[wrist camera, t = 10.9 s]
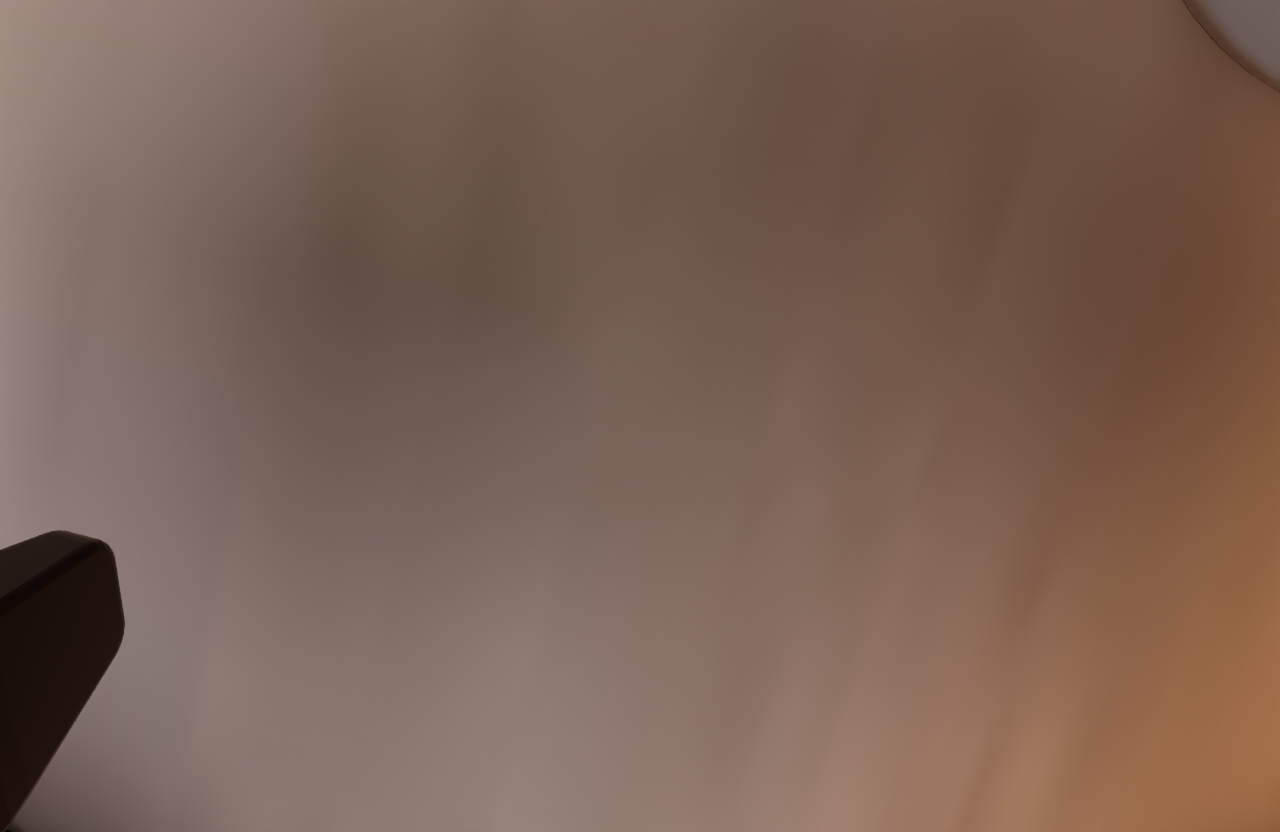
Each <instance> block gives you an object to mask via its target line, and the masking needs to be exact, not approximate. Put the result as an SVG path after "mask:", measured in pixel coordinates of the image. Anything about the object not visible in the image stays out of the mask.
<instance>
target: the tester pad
mask: <svg viewBox="0 0 1280 832" xmlns="http://www.w3.org/2000/svg"><path fill="white" fill-rule="evenodd" d="M1183 1H1184V2H1185V4H1186V5H1187V7H1188V9H1189V10H1190V12H1191V13H1192V15H1193V16H1194V18H1195V19H1196V20H1197V21H1198V22H1199V23H1200V25H1201V26H1202V27H1203V28H1204V29H1205V30H1206V32H1207V33H1208V34H1209V35H1210V36H1211V37H1212V39H1213V40H1214V41H1215V42H1216V43H1217V44H1218V46H1219V47H1220V48H1221V49H1222V50H1224V51H1225V52H1226V53H1227V54H1228V55H1229V56H1231V57H1232V58H1233V59H1234V60H1235V61H1236V62H1238V63H1239V64H1240V65H1241V66H1242V67H1243V68H1245V69H1246V70H1247V71H1248V72H1249V73H1250V74H1252V75H1253V76H1255V77H1256V78H1258V79H1260V80H1261V81H1263V82H1264V83H1266V84H1268V85H1269V86H1271V87H1273V88H1274V89H1276V90H1277V91H1279V92H1280V0H1183Z"/></svg>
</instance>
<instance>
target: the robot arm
mask: <svg viewBox="0 0 1280 832" xmlns="http://www.w3.org/2000/svg"><path fill="white" fill-rule="evenodd" d="M124 626H125V619H124V612H123V606H122V599H121V593H120V587H119V580H118V574H117V567H116V561H115V556H114V553H113V551H112V550H111V548H110V547H109V545H108V544H107V543H105V542H103V541H102V540H99V539H95V538H91V537H87V536H84V535H80V534H76V533H72V532H68V531H60V530H57V531H51V532H48V533H44V534H42V535H39V536H36V537H34V538H31V539H28V540H25V541H23V542H20V543H17V544H15V545H12V546H9V547H7V548H4V549H1V550H0V832H11V831H9V830H7V828H8V827H9V825H10V824H11V823H12V821H13V820H14V818H15V817H16V815H17V813H18V812H19V810H20V809H21V807H22V806H23V804H24V803H25V801H26V800H27V798H28V797H29V795H30V794H31V792H32V790H33V789H34V787H35V786H36V784H37V782H38V781H39V779H40V778H41V776H42V774H43V773H44V771H45V769H46V768H47V766H48V765H49V763H50V761H51V760H52V758H53V756H54V755H55V753H56V752H57V750H58V748H59V747H60V745H61V743H62V742H63V740H64V739H65V737H66V735H67V734H68V732H69V730H70V729H71V727H72V726H73V724H74V722H75V721H76V719H77V717H78V716H79V714H80V713H81V711H82V709H83V708H84V706H85V704H86V703H87V701H88V700H89V698H90V696H91V695H92V693H93V691H94V690H95V688H96V687H97V685H98V683H99V682H100V680H101V678H102V677H103V675H104V674H105V672H106V670H107V669H108V667H109V665H110V664H111V662H112V661H113V659H114V657H115V656H116V654H117V652H118V650H119V647H120V645H121V642H122V639H123V635H124Z"/></svg>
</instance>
